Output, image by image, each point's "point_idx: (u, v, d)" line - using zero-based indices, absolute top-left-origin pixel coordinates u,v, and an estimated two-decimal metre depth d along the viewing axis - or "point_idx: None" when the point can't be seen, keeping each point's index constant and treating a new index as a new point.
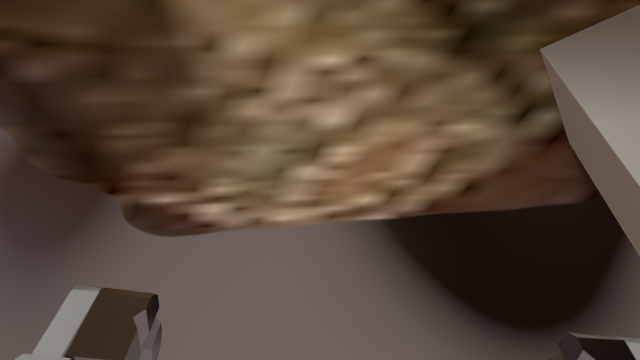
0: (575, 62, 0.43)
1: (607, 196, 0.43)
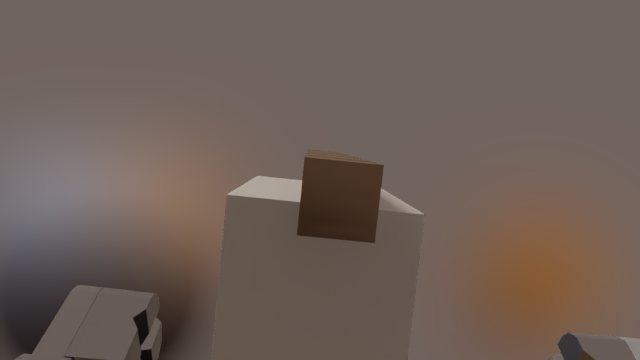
0: None
1: None
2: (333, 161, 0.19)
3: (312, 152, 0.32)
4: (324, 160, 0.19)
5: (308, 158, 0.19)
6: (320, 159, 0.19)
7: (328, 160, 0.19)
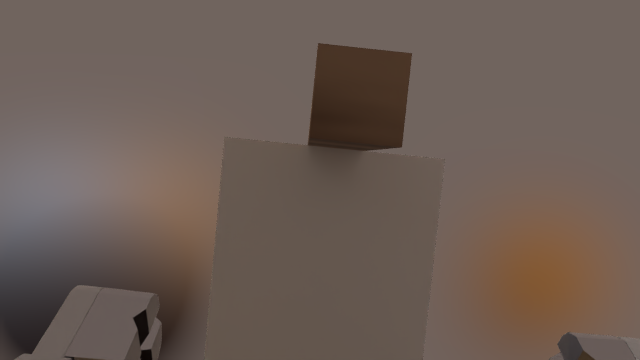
0: None
1: None
2: (352, 48, 0.16)
3: None
4: (341, 47, 0.16)
5: (322, 45, 0.16)
6: (336, 46, 0.16)
7: (346, 47, 0.16)
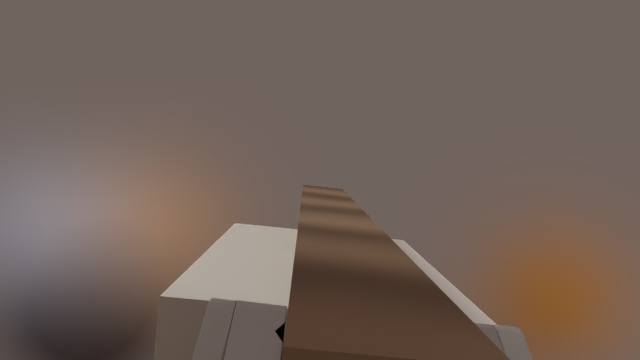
0: None
1: None
2: (369, 359, 0.06)
3: (308, 215, 0.20)
4: (342, 356, 0.06)
5: (294, 350, 0.06)
6: (330, 352, 0.06)
7: (354, 356, 0.06)
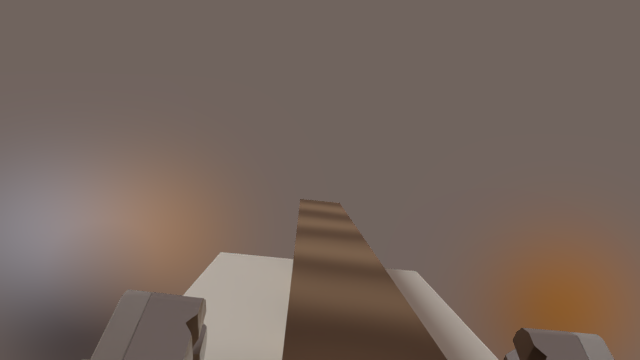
0: None
1: None
2: None
3: (305, 243, 0.19)
4: None
5: None
6: None
7: None
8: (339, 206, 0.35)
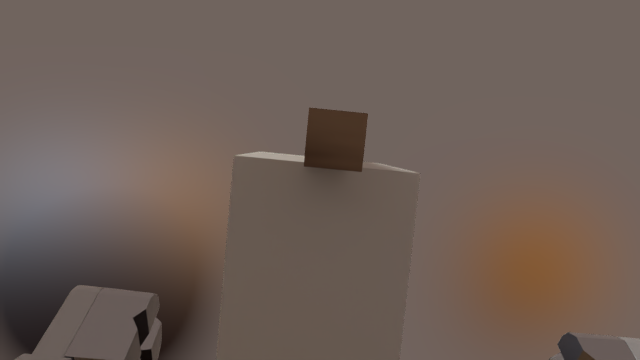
0: None
1: None
2: (330, 110, 0.25)
3: None
4: (323, 110, 0.25)
5: (312, 108, 0.25)
6: (320, 109, 0.25)
7: (326, 110, 0.25)
8: None
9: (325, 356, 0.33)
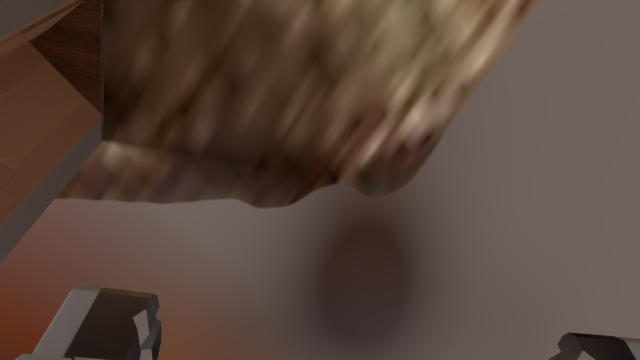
0: None
1: None
2: None
3: None
4: None
5: None
6: None
7: None
8: None
9: None
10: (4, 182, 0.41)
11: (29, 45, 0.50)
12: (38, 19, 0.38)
